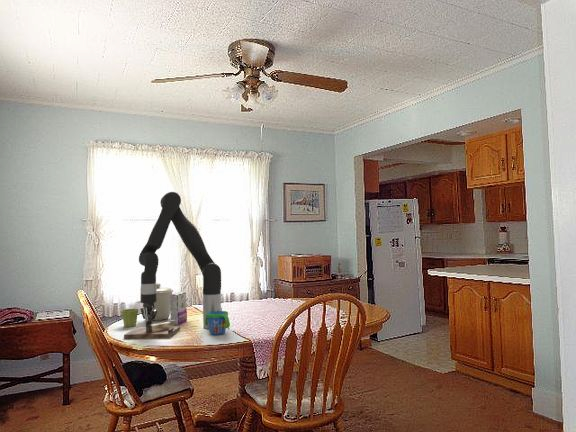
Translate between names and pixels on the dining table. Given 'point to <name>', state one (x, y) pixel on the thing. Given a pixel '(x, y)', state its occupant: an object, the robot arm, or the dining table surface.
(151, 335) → the walnut board
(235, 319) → the dining table surface
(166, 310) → the canister
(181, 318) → the candy bar box
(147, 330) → the folding leg
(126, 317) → the plant pot
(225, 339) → the dining table surface
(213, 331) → the snack cup
